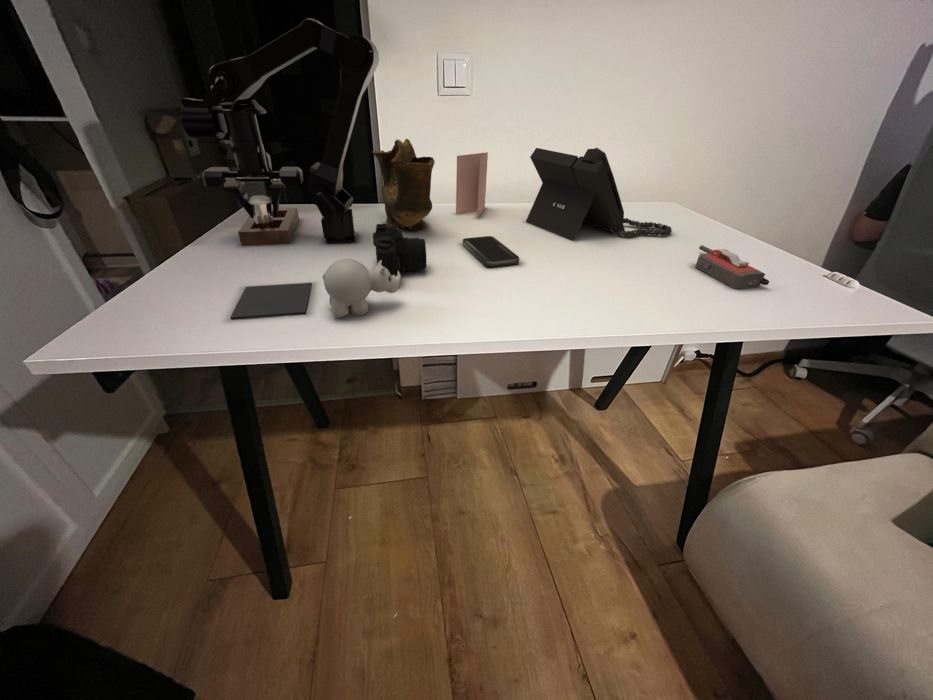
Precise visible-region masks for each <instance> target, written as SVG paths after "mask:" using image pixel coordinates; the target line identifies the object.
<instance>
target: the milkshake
mask: <svg viewBox="0 0 933 700" xmlns="http://www.w3.org/2000/svg"><path fill="white" fill-rule="evenodd" d="M248 202H249V205H250V208H251V211H252V213H253V216H254V219H255V222H256V225H257V228H258V229H263V228H275V227H274V220H273V213H272V209H273V205H272V199H271V196H266V195H263V194H262V195H251V196H250V197H249V201H248Z"/></svg>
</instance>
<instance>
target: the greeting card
mask: <svg viewBox="0 0 933 700" xmlns="http://www.w3.org/2000/svg"><path fill="white" fill-rule="evenodd" d="M488 157H489V152H479V153H470V154H461V155H456V179H455V180H456V183H455V184H456V187H455V188H456V189H455V191H456V192H455V215H459V214H463V213H464V214H465V213H468V212H472V211H477V213H476V214H477V216H476V219H479V217H480V215H481V214H482V213H483V212H484V210H485V209H486V194H487V193H486V192H487V174H488Z"/></svg>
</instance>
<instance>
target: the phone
mask: <svg viewBox="0 0 933 700" xmlns="http://www.w3.org/2000/svg"><path fill="white" fill-rule="evenodd" d="M462 246H463V247H464V248H465V249H466V250H468V251H469V252H470V253H471V255H472V256H474V257H475V258H476V259H477V260H478V261H479V262H480V263H481V264H482V265H483V266H484V267H486V268H497V267H505V266H514V265H518V264H519V263H520V256H519V255H517V254H516V253H515V252H514V251H512V250H511V249H510V248H509V247H507V246H506V245H505V244H503V243H502V242H500V241H499V240H498V239H497V238H496V237H494V236H491V235H485V236H476V237H475V236H473V237H466V238H463V239H462Z"/></svg>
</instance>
